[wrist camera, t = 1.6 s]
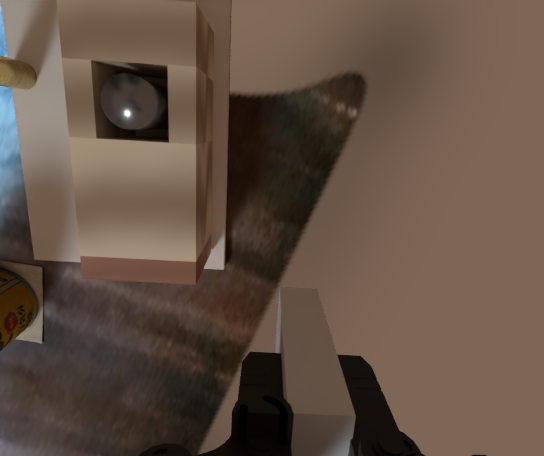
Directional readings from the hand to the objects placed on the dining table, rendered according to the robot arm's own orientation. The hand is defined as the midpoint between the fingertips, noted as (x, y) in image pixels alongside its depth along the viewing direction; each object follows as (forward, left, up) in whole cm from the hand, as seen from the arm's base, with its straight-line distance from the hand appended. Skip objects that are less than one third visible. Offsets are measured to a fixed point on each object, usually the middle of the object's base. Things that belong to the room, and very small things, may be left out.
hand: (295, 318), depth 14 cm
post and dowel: (-9, -14, -15) cm, 22 cm away
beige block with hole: (-5, -9, -14) cm, 17 cm away
